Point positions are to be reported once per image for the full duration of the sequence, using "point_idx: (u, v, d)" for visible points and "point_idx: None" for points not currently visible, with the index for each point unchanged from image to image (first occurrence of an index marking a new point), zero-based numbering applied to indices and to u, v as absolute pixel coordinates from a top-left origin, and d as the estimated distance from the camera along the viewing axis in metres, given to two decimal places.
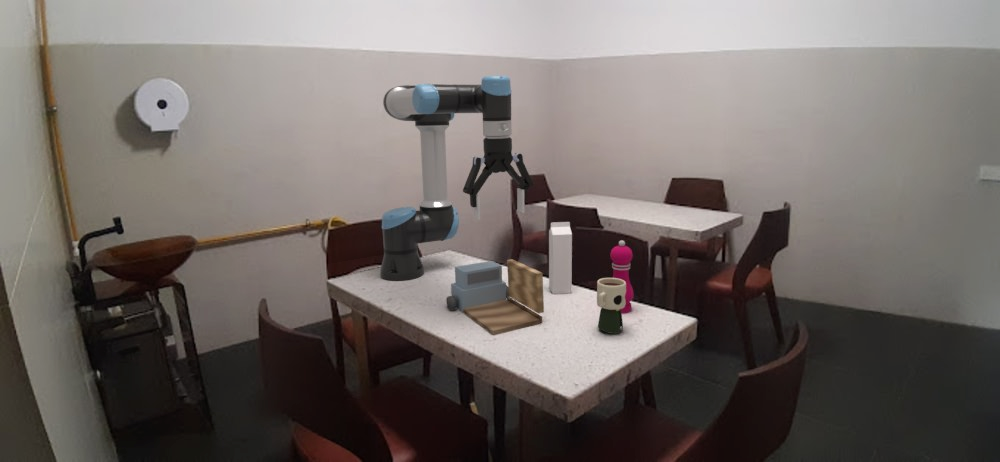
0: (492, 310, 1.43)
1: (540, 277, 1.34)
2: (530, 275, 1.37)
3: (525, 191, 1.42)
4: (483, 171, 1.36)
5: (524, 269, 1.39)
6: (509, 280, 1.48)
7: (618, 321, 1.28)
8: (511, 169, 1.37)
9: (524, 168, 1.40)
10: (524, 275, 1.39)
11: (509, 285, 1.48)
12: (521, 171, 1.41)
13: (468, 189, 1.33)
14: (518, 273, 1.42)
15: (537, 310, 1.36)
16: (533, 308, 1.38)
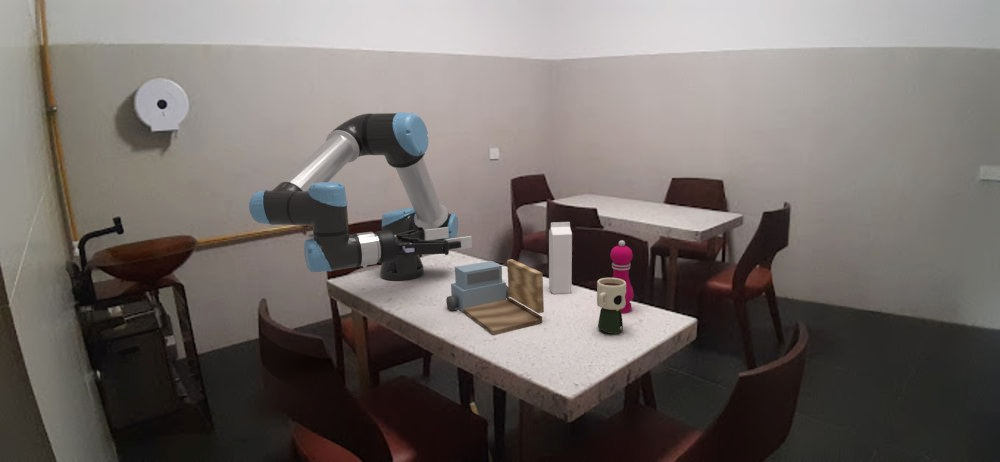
0: (492, 310, 1.43)
1: (540, 277, 1.34)
2: (530, 275, 1.37)
3: None
4: None
5: (524, 269, 1.39)
6: (509, 280, 1.48)
7: (618, 321, 1.28)
8: None
9: None
10: (524, 275, 1.39)
11: (509, 285, 1.48)
12: None
13: None
14: (518, 273, 1.42)
15: (537, 310, 1.36)
16: (533, 308, 1.38)
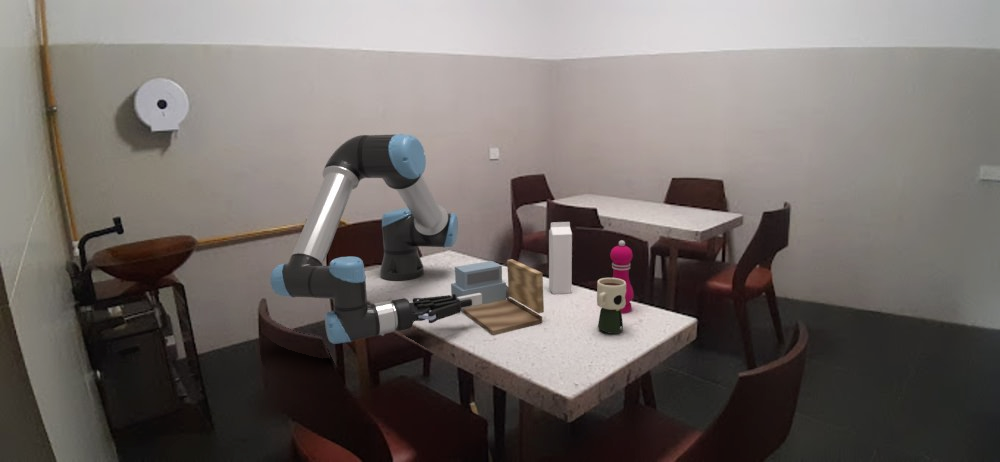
0: (492, 310, 1.43)
1: (540, 277, 1.34)
2: (530, 275, 1.37)
3: None
4: None
5: (524, 269, 1.39)
6: (509, 280, 1.48)
7: (618, 321, 1.28)
8: None
9: None
10: (524, 275, 1.39)
11: (509, 285, 1.48)
12: None
13: None
14: (518, 273, 1.42)
15: (537, 310, 1.36)
16: (533, 308, 1.38)
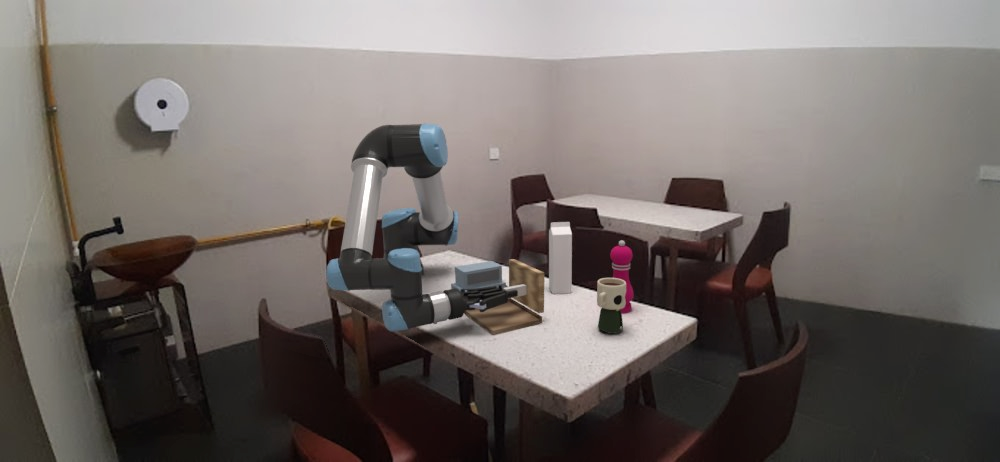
0: (492, 310, 1.43)
1: (542, 277, 1.34)
2: (532, 274, 1.37)
3: None
4: None
5: (526, 268, 1.39)
6: (510, 280, 1.48)
7: (618, 321, 1.28)
8: None
9: None
10: (526, 275, 1.40)
11: (510, 285, 1.48)
12: None
13: None
14: (520, 273, 1.43)
15: (537, 310, 1.36)
16: (533, 308, 1.38)
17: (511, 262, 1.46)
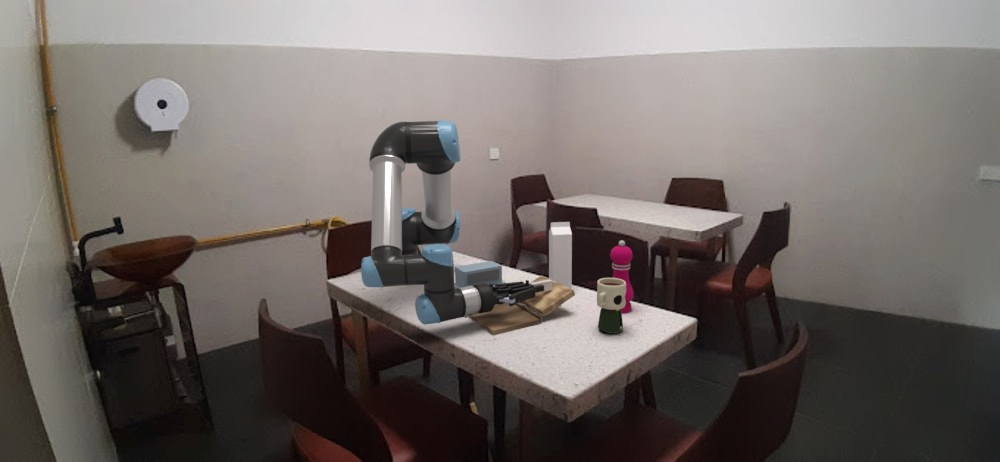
0: (492, 310, 1.43)
1: (571, 295, 1.40)
2: (562, 288, 1.43)
3: None
4: None
5: (558, 284, 1.46)
6: None
7: (618, 321, 1.28)
8: None
9: None
10: (553, 287, 1.45)
11: None
12: None
13: None
14: None
15: (543, 309, 1.37)
16: (538, 307, 1.39)
17: (542, 277, 1.52)
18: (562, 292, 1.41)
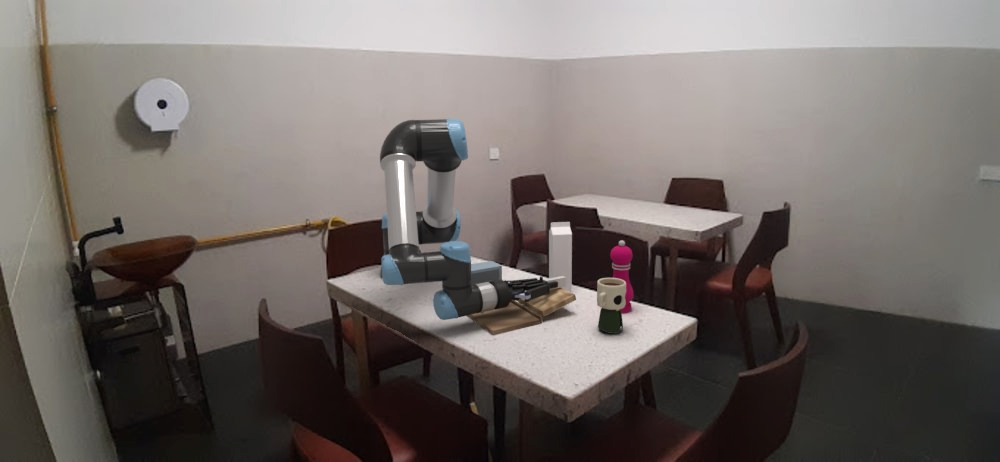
0: (492, 310, 1.43)
1: (572, 299, 1.41)
2: (564, 292, 1.43)
3: None
4: None
5: (560, 288, 1.46)
6: None
7: (618, 321, 1.28)
8: None
9: None
10: (555, 291, 1.46)
11: None
12: None
13: None
14: None
15: (543, 309, 1.37)
16: (539, 307, 1.39)
17: None
18: (563, 295, 1.42)
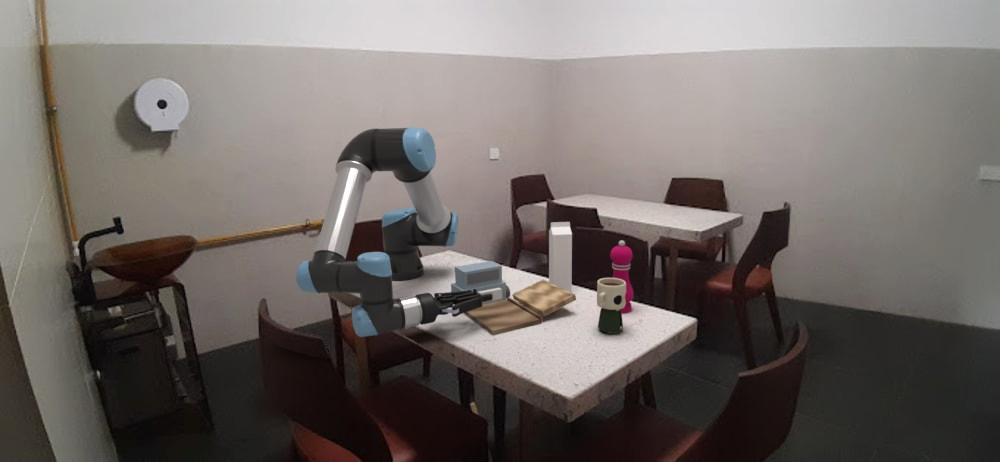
0: (492, 310, 1.43)
1: (572, 299, 1.41)
2: (564, 292, 1.43)
3: None
4: None
5: (560, 288, 1.46)
6: (528, 288, 1.51)
7: (618, 321, 1.28)
8: None
9: None
10: (555, 291, 1.46)
11: (523, 290, 1.51)
12: None
13: None
14: (548, 288, 1.48)
15: (543, 309, 1.37)
16: (539, 307, 1.39)
17: (544, 281, 1.53)
18: (563, 295, 1.42)
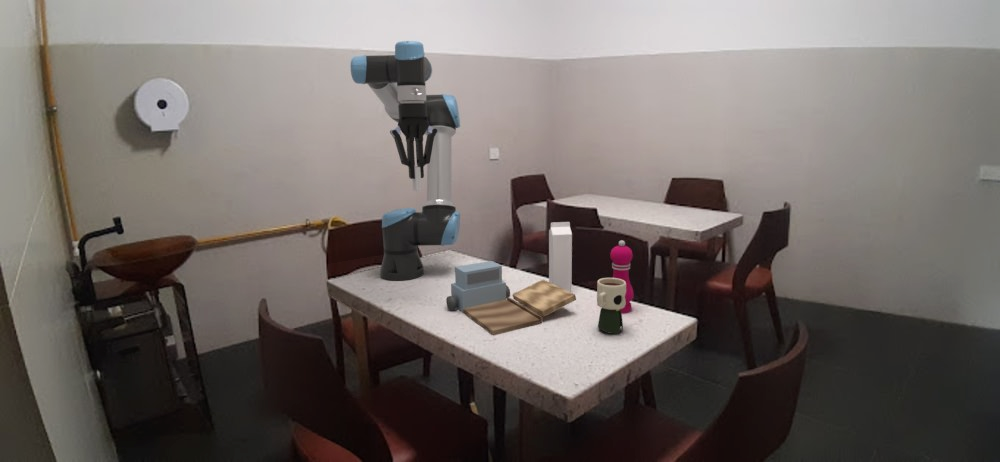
0: (492, 310, 1.43)
1: (572, 299, 1.41)
2: (564, 292, 1.43)
3: (422, 169, 1.41)
4: (407, 141, 1.39)
5: (560, 288, 1.46)
6: (528, 288, 1.51)
7: (618, 321, 1.28)
8: (420, 138, 1.38)
9: (431, 143, 1.41)
10: (555, 291, 1.46)
11: (523, 290, 1.51)
12: (427, 145, 1.41)
13: (404, 161, 1.38)
14: (548, 288, 1.48)
15: (543, 309, 1.37)
16: (539, 307, 1.39)
17: (544, 281, 1.53)
18: (563, 295, 1.42)
